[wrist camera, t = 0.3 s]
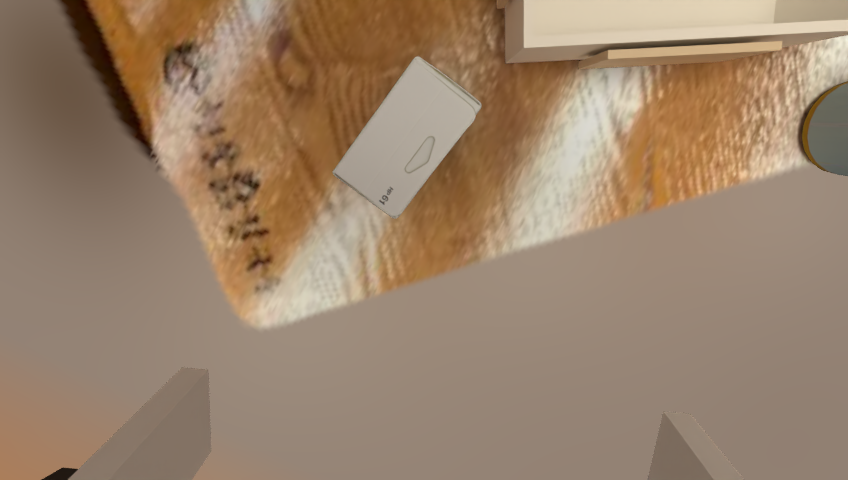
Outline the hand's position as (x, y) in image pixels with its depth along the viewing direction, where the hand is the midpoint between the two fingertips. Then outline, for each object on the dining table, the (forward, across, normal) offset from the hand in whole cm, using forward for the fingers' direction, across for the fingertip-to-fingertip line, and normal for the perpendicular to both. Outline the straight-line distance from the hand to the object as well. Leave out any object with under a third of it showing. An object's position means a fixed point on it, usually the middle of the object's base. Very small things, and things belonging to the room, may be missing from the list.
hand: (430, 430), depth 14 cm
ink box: (+28, -2, +7) cm, 29 cm away
